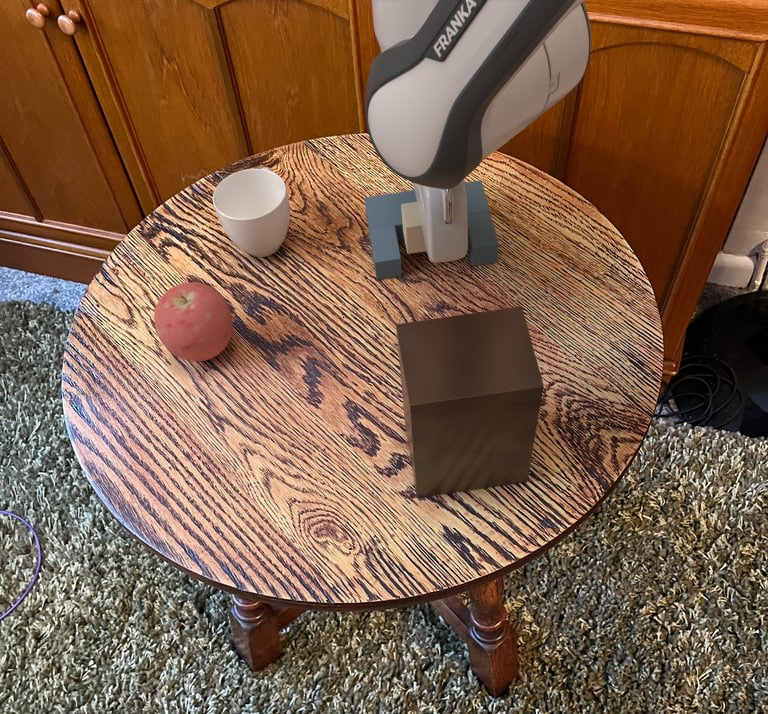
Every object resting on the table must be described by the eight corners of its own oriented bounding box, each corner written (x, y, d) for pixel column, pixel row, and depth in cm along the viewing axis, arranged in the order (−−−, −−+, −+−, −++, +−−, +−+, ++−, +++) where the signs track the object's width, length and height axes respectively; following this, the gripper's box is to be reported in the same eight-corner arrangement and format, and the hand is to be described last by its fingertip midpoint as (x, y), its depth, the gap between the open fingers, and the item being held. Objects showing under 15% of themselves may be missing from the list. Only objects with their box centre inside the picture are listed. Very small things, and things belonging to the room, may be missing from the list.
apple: (241, 372, 77) (220, 317, 70) (168, 381, 78) (140, 327, 71) (240, 316, 81) (221, 259, 74) (171, 325, 81) (145, 268, 74)
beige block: (458, 222, 82) (459, 195, 79) (464, 245, 80) (464, 218, 77) (402, 230, 82) (401, 203, 79) (407, 254, 80) (405, 227, 77)
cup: (219, 265, 85) (202, 215, 79) (246, 202, 89) (231, 151, 83) (287, 272, 83) (274, 222, 78) (310, 208, 88) (300, 156, 82)
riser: (509, 410, 73) (521, 305, 60) (527, 482, 69) (544, 386, 57) (405, 425, 73) (395, 323, 61) (416, 498, 69) (409, 405, 57)
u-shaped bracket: (480, 198, 87) (481, 180, 84) (497, 262, 82) (498, 244, 80) (366, 215, 87) (364, 197, 84) (376, 280, 82) (374, 262, 80)
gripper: (487, 180, 63) (481, 300, 75) (448, 36, 73) (448, 163, 85) (411, 191, 63) (418, 309, 75) (382, 46, 73) (392, 171, 85)
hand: (433, 231), depth 80 cm, fingers closed on beige block, 3 cm apart
